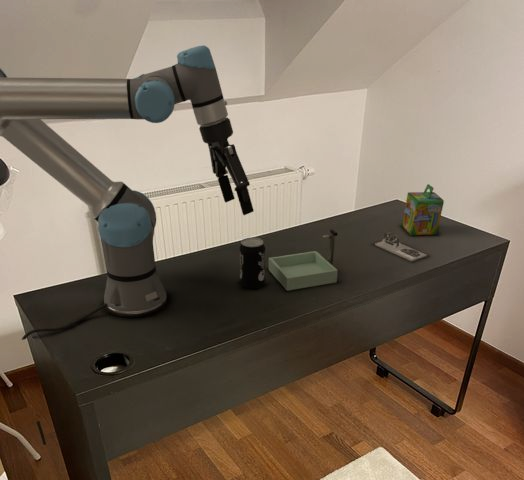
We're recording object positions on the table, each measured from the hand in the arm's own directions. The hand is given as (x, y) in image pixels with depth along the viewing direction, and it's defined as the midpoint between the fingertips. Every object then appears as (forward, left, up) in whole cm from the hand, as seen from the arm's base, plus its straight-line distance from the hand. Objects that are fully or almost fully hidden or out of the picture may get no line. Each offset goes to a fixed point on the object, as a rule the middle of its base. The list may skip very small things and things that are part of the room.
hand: (238, 206), depth 135 cm
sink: (+16, -7, -19) cm, 26 cm away
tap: (+24, -7, -19) cm, 32 cm away
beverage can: (+1, -7, -19) cm, 21 cm away
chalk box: (+66, +11, -19) cm, 70 cm away
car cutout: (+51, -1, -19) cm, 55 cm away
